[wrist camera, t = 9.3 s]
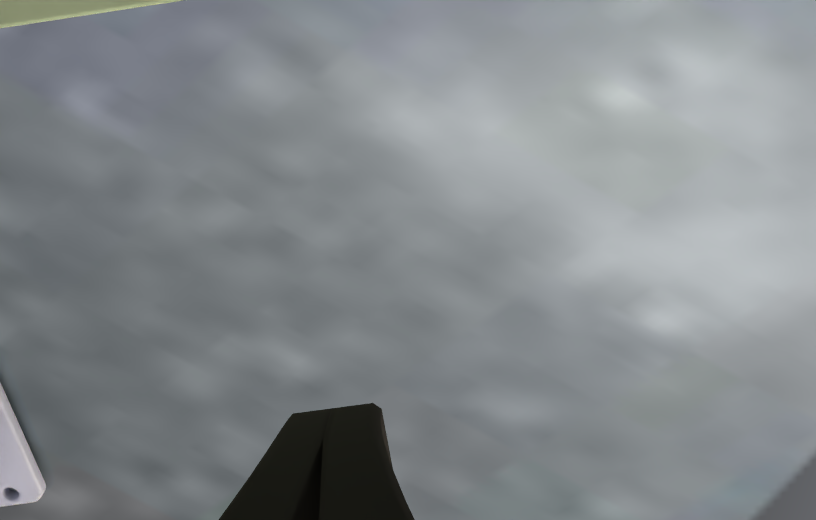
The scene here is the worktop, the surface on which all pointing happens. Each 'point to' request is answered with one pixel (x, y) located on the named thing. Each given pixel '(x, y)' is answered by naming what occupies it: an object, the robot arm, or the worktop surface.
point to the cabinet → (61, 9)
